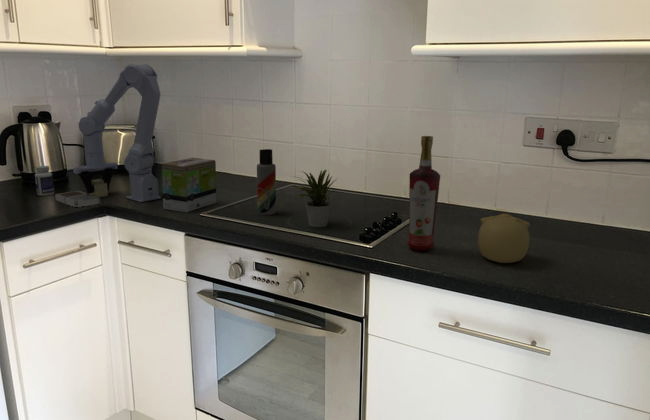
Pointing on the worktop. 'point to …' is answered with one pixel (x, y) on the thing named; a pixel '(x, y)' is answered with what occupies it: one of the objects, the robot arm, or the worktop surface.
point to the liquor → (423, 200)
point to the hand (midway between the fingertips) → (98, 191)
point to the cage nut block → (99, 188)
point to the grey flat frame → (77, 199)
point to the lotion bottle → (266, 183)
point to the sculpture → (503, 238)
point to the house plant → (317, 200)
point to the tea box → (189, 184)
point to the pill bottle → (44, 181)
